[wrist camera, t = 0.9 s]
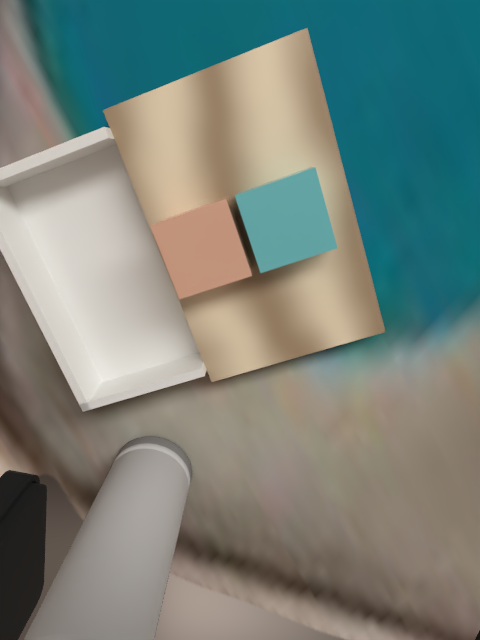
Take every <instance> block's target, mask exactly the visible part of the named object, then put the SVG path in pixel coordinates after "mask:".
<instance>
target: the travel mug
mask: <svg viewBox="0 0 480 640" xmlns="http://www.w3.org/2000/svg"><path fill="white" fill-rule="evenodd" d="M191 477H192V468H191V463H190V461H189V458H188V457H187V455H186V454H185V452H184V451H183V450H182V449H181V448H180V447H179V446H177V445H176V444H174V443H173V442H171V441H169V440H167V439H163V438H160V437H153V436H150V437H141V438H137V439H134V440H132V441H130V442H128V443H127V444H126V445H124V446H123V447H122V449H121V450H120V451H119V453H118V455H117V457H116V459H115V461H114V463H113V465H112V467H111V469H110V471H109V473H108V474H107V476H106V478H105V480H104V482H103V484H102V486H101V488H100V490H99V492H98V494H97V496H96V498H95V500H94V502H93V504H92V506H91V508H90V510H89V512H88V514H87V516H86V518H85V520H84V522H83V524H82V526H81V528H80V530H79V532H78V534H77V536H76V538H75V540H74V542H73V544H72V546H71V548H70V550H69V551H68V553H67V555H66V557H65V559H64V561H63V563H62V565H61V567H60V569H59V571H58V573H57V575H56V577H55V579H54V581H53V583H52V585H51V587H50V589H49V591H48V593H47V595H46V597H45V599H44V601H43V603H42V605H41V607H40V609H39V611H38V613H37V615H36V617H35V619H34V621H33V623H32V625H31V627H30V628H29V631H28V632H27V634H26V636H25V638H24V640H154V637H155V633H156V629H157V625H158V620H159V616H160V611H161V607H162V603H163V599H164V594H165V590H166V585H167V581H168V577H169V573H170V568H171V564H172V560H173V555H174V551H175V547H176V542H177V538H178V534H179V530H180V525H181V521H182V517H183V512H184V508H185V504H186V499H187V495H188V490H189V486H190V482H191Z"/></svg>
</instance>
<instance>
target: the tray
mask: <svg viewBox="0 0 480 640" xmlns="http://www.w3.org/2000/svg"><path fill="white" fill-rule="evenodd" d="M0 250H1V252H2V254H3V256H4V258H5V260H6V262H7V264H8V266H9V268H10V270H11V272H12V274H13V275H14V277H15V279H16V281H17V283H18V285H19V287H20V289H21V291H22V293H23V295H24V297H25V299H26V301H27V303H28V305H29V307H30V309H31V311H32V313H33V315H34V317H35V319H36V321H37V323H38V325H39V327H40V328H41V330H42V332H43V334H44V336H45V338H46V340H47V342H48V344H49V346H50V348H51V350H52V352H53V354H54V356H55V358H56V360H57V362H58V364H59V366H60V368H61V370H62V372H63V374H64V376H65V378H66V380H67V382H68V383H69V385H70V387H71V389H72V391H73V393H74V395H75V397H76V399H77V401H78V403H79V405H80V407H81V409H82V411H83V412H84V411H87V410H91V409H94V408H98V407H101V406H104V405H108V404H111V403H115V402H118V401H121V400H125V399H128V398H132V397H135V396H139V395H142V394H145V393H149V392H152V391H156V390H159V389H162V388H166V387H169V386H173V385H176V384H180V383H183V382H186V381H190V380H193V379H197V378H200V377H203V376H205V373H206V370H207V369H206V367H205V364H204V362H203V359H202V357H201V354H200V352H199V349H198V347H197V344H196V342H195V339H194V337H193V334H192V332H191V329H190V327H189V324H188V322H187V319H186V317H185V314H184V312H183V309H182V307H181V304H180V302H179V299H178V297H177V294H176V292H175V289H174V287H173V284H172V282H171V279H170V277H169V274H168V272H167V269H166V267H165V264H164V262H163V259H162V257H161V254H160V252H159V249H158V247H157V244H156V242H155V239H154V237H153V234H152V232H151V229H150V227H149V224H148V222H147V219H146V217H145V214H144V212H143V209H142V207H141V204H140V202H139V199H138V197H137V194H136V192H135V189H134V187H133V184H132V182H131V179H130V177H129V174H128V172H127V169H126V167H125V164H124V162H123V159H122V157H121V154H120V152H119V149H118V147H117V144H116V142H115V139H114V137H113V134H112V132H111V129H110V128H107V127H103V128H100V129H98V130H95V131H93V132H90V133H88V134H85V135H83V136H80V137H77V138H75V139H72V140H70V141H67V142H65V143H62V144H60V145H57V146H55V147H52V148H50V149H47V150H45V151H42V152H40V153H37V154H35V155H32V156H30V157H27V158H25V159H22V160H20V161H17V162H15V163H12V164H9V165H7V166H4V167H2V168H0Z"/></svg>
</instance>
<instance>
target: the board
mask: <svg viewBox="0 0 480 640" xmlns="http://www.w3.org/2000/svg"><path fill="white" fill-rule="evenodd" d="M103 112H104V114H105V117H106V119H107V122H108V124H109V127H110V129H111V132H112V134H113V137H114V139H115V142H116V144H117V147H118V149H119V152H120V154H121V157H122V159H123V162H124V164H125V167H126V169H127V172H128V174H129V177H130V179H131V182H132V184H133V187H134V189H135V192H136V194H137V197H138V199H139V202H140V204H141V207H142V209H143V212H144V214H145V217H146V219H147V222H148V224H149V227H150V225H152V224H154V223H156V222H158V221H160V220H163V219H166V218H169V217H171V216H174V215H177V214H180V213H183V212H185V211H188V210H191V209H194V208H197V207H200V206H202V205H205V204H208V203H211V202H214V201H216V200H219V199H222V198H225V197H228V196H229V197H230V200H231V203H232V206H233V208H234V211H235V214H236V217H237V220H238V223H239V226H240V229H241V232H242V235H243V238H244V241H245V244H246V247H247V250H248V253H249V256H250V259H251V262H252V265H253V273H252V276H250V277H247V278H244V279H241V280H238V281H235V282H232V283H229V284H226V285H223V286H219V287H216V288H213V289H210V290H207V291H204V292H201V293H198V294H195V295H192V296H189V297H185V298H182V299H179V297H178V295H177V297H178V299H179V302H180V304H181V307H182V309H183V312H184V314H185V317H186V319H187V322H188V324H189V327H190V329H191V332H192V334H193V337H194V339H195V342H196V344H197V347H198V349H199V352H200V354H201V357H202V359H203V362H204V364H205V367H206V369H207V372H208V374H209V377H210V379H211V382H214V381H218V380H221V379H225V378H228V377H231V376H235V375H238V374H242V373H245V372H249V371H252V370H256V369H259V368H262V367H266V366H269V365H273V364H276V363H280V362H283V361H287V360H290V359H294V358H297V357H300V356H304V355H307V354H311V353H314V352H318V351H321V350H325V349H328V348H332V347H335V346H338V345H342V344H345V343H349V342H352V341H356V340H359V339H363V338H366V337H369V336H373V335H376V334H380V333H383V332H385V329H384V325H383V321H382V317H381V313H380V309H379V305H378V302H377V298H376V294H375V290H374V286H373V282H372V278H371V274H370V270H369V266H368V263H367V259H366V255H365V251H364V247H363V243H362V239H361V235H360V231H359V228H358V224H357V220H356V216H355V212H354V208H353V204H352V200H351V196H350V193H349V189H348V185H347V181H346V177H345V173H344V169H343V165H342V161H341V157H340V154H339V150H338V146H337V142H336V138H335V134H334V130H333V126H332V122H331V119H330V115H329V111H328V107H327V103H326V99H325V95H324V91H323V87H322V83H321V80H320V76H319V72H318V68H317V64H316V60H315V56H314V52H313V48H312V45H311V41H310V37H309V33H308V29H307V28H306V29H303V30H301V31H298V32H296V33H293V34H291V35H288V36H286V37H283V38H281V39H278V40H276V41H273V42H271V43H268V44H266V45H264V46H261V47H259V48H256V49H254V50H251V51H249V52H246V53H244V54H241V55H239V56H236V57H234V58H231V59H229V60H226V61H224V62H221V63H219V64H216V65H214V66H211V67H209V68H207V69H204V70H202V71H199V72H197V73H194V74H192V75H189V76H187V77H184V78H182V79H179V80H177V81H174V82H172V83H169V84H167V85H164V86H162V87H159V88H157V89H154V90H152V91H150V92H147V93H145V94H142V95H140V96H137V97H135V98H132V99H130V100H127V101H125V102H122V103H120V104H117V105H115V106H112V107H110V108H107V109H105V110H103ZM310 167H316V171H317V175H318V178H319V182H320V186H321V189H322V193H323V197H324V200H325V204H326V207H327V211H328V215H329V218H330V222H331V226H332V229H333V233H334V237H335V240H336V244H337V247H338V248H337V249H334V250H331V251H328V252H325V253H322V254H318V255H315V256H312V257H309V258H306V259H303V260H300V261H297V262H294V263H291V264H288V265H284V266H281V267H278V268H275V269H272V270H269V271H266V272H263V273H260V270H259V267H258V264H257V261H256V258H255V255H254V252H253V249H252V246H251V243H250V240H249V237H248V234H247V231H246V228H245V225H244V222H243V219H242V216H241V213H240V210H239V207H238V204H237V201H236V198H235V195H236V194H237V193H239V192H242V191H245V190H247V189H250V188H253V187H256V186H259V185H262V184H264V183H267V182H270V181H273V180H276V179H279V178H281V177H284V176H287V175H290V174H293V173H295V172H298V171H301V170H304V169H307V168H310ZM150 229H151V227H150ZM151 232H152V229H151ZM152 234H153V232H152ZM153 237H154V234H153ZM154 239H155V237H154ZM155 242H156V239H155ZM156 244H157V242H156ZM157 247H158V244H157ZM158 249H159V247H158ZM159 252H160V249H159ZM160 254H161V252H160ZM161 257H162V254H161ZM162 259H163V257H162ZM163 262H164V259H163ZM164 264H165V262H164ZM165 267H166V265H165ZM166 269H167V267H166ZM167 272H168V270H167ZM168 274H169V272H168ZM169 277H170V275H169ZM170 279H171V277H170ZM171 282H172V280H171ZM172 284H173V282H172ZM173 287H174V285H173ZM174 289H175V287H174ZM175 292H176V290H175ZM176 294H177V292H176Z"/></svg>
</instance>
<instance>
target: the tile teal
mask: <svg viewBox="0 0 480 640" xmlns="http://www.w3.org/2000/svg"><path fill="white" fill-rule="evenodd" d="M235 198H236V201H237V204H238V207H239V210H240V213H241V216H242V219H243V222H244V225H245V228H246V231H247V234H248V237H249V240H250V243H251V246H252V249H253V252H254V255H255V258H256V261H257V264H258V267H259V270H260V273H263V272H266V271H269V270H272V269H275V268H278V267H281V266H284V265H288V264H291V263H294V262H297V261H300V260H303V259H306V258H309V257H312V256H315V255H318V254H322V253H325V252H328V251H331V250H334V249H337V248H338V247H337V244H336V240H335V237H334V233H333V229H332V226H331V222H330V218H329V215H328V211H327V207H326V204H325V200H324V197H323V193H322V189H321V186H320V182H319V178H318V175H317V171H316V167H310V168H307V169H304V170H301V171H298V172H295V173H293V174H290V175H287V176H284V177H281V178H279V179H276V180H273V181H270V182H267V183H264V184H262V185H259V186H256V187H253V188H250V189H247V190H245V191H242V192H239V193H237V194H236V195H235Z"/></svg>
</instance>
